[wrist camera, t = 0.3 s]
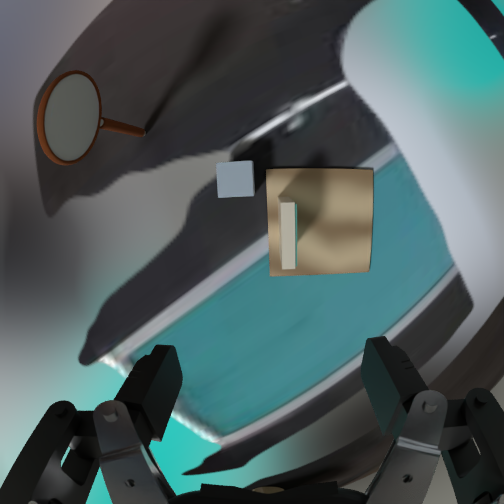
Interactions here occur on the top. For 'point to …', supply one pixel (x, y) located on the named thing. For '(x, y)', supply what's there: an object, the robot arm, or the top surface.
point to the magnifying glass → (74, 118)
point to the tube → (268, 490)
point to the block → (235, 179)
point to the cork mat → (323, 219)
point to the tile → (287, 232)
